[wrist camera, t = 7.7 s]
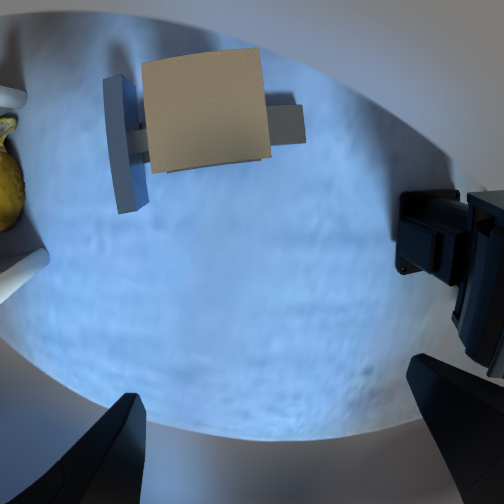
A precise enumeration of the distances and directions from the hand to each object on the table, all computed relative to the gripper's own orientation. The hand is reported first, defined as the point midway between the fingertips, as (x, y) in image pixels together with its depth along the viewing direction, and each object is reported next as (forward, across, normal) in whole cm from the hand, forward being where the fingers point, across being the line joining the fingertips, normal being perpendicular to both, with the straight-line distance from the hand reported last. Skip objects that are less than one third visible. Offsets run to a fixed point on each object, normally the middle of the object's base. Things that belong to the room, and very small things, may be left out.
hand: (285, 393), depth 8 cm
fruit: (+12, +19, -9) cm, 24 cm away
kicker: (+11, +3, -8) cm, 14 cm away
